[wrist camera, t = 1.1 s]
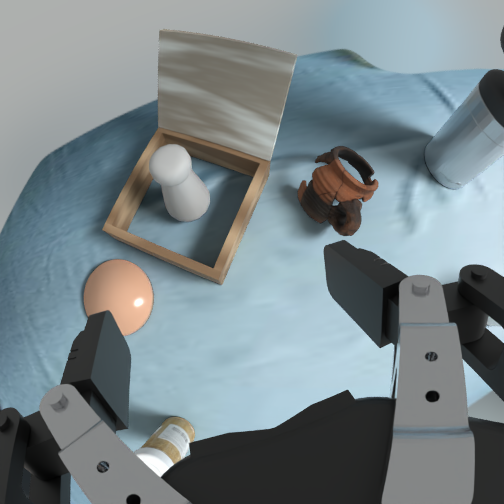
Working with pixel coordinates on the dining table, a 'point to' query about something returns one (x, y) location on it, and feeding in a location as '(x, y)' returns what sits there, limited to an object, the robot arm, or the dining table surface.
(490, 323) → the drinking glass
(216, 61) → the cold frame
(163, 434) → the sprinkles bottle
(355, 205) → the pottery mug
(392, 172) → the dining table surface
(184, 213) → the salt shaker
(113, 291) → the terracotta saucer
